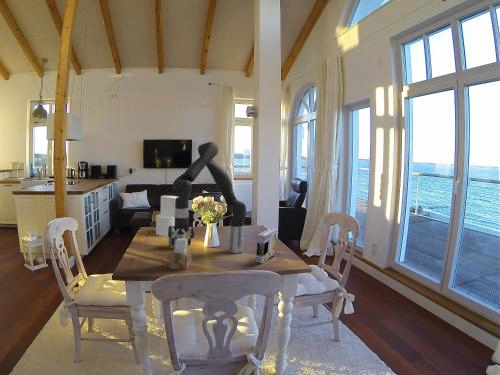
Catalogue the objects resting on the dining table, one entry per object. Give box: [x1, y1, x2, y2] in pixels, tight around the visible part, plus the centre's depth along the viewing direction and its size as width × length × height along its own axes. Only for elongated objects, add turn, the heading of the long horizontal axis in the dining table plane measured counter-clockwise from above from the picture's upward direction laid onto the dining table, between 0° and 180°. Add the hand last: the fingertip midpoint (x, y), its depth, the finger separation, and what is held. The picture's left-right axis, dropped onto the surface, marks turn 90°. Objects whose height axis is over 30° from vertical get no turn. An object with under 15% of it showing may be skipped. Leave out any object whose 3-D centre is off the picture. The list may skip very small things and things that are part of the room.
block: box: [175, 238, 188, 254], centre depth 179 cm, size 5×5×7 cm
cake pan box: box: [255, 228, 278, 263], centre depth 197 cm, size 19×5×18 cm, turn 151°
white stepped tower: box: [155, 195, 178, 237], centre depth 248 cm, size 17×17×28 cm
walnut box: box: [168, 249, 193, 271], centre depth 180 cm, size 10×10×8 cm
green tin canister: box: [168, 229, 187, 250], centre depth 214 cm, size 9×9×15 cm
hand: (181, 244), depth 179 cm, fingers open, 8 cm apart
